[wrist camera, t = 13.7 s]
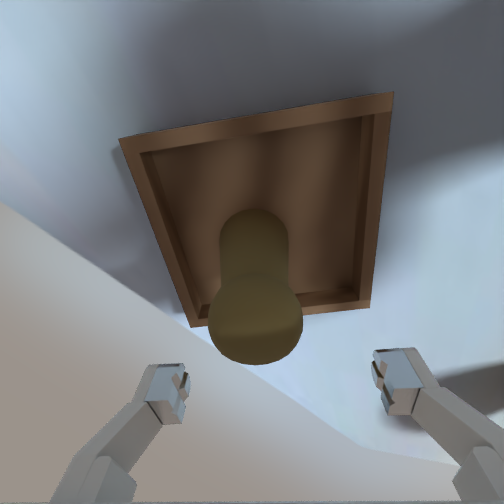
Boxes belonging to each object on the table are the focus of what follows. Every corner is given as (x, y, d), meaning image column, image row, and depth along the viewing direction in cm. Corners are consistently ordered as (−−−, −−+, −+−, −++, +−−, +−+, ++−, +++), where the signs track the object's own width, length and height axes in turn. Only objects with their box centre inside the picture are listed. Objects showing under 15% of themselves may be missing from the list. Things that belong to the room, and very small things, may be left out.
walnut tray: (372, 93, 17) (393, 91, 15) (357, 287, 26) (369, 307, 23) (136, 134, 19) (118, 138, 16) (196, 306, 27) (190, 327, 24)
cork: (260, 280, 24) (266, 395, 14) (206, 247, 22) (172, 353, 13) (303, 235, 22) (343, 336, 12) (246, 193, 20) (241, 275, 10)
